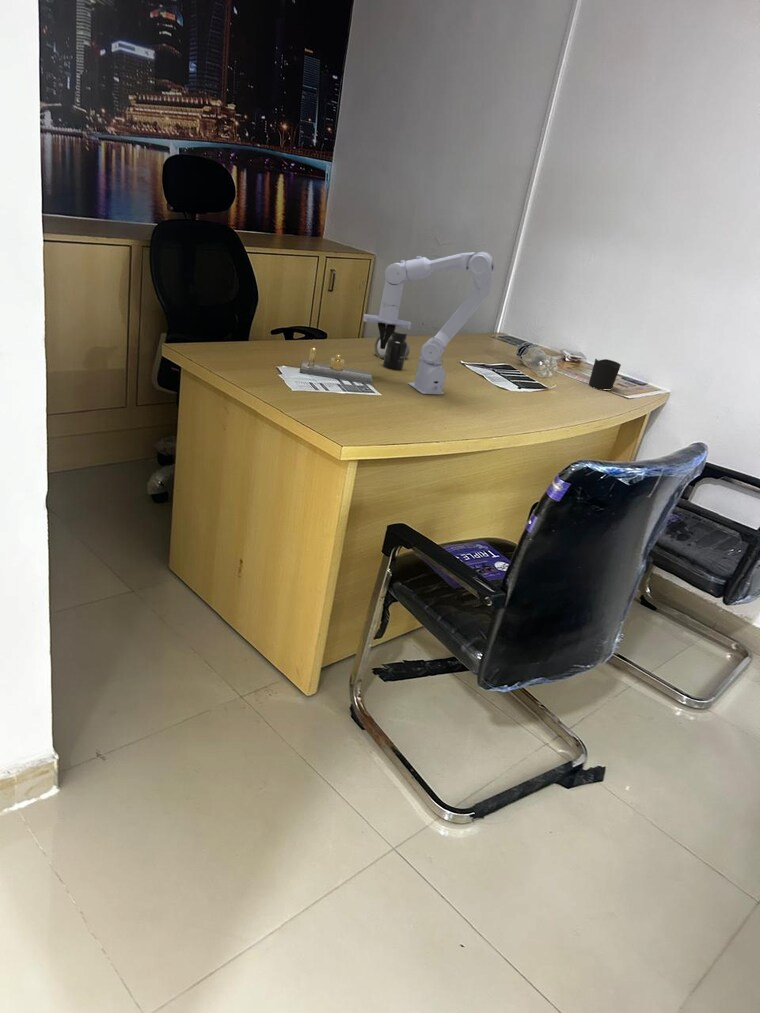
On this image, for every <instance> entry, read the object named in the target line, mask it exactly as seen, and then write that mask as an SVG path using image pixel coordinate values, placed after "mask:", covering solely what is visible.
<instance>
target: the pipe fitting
mask: <svg viewBox="0 0 760 1013" xmlns="http://www.w3.org/2000/svg"><path fill="white" fill-rule="evenodd" d="M396 330H397V329H396ZM397 331H399V329H398V330H397ZM384 337H385V336H384ZM390 338H392V336H391V337H390ZM390 338H389V339H390ZM405 341H406V342H407V338H406V339H405ZM386 347H387V344H386ZM386 347H385V349H381V348H380V335H379V336H378V337H377V338H376V341H375V343H374V353H375V355H376V357H378V358H379V359H384V357H385V352H386ZM410 352H411V346H410V344H409V342H407V350H406V355H405V359H406V358H407V357H408V356H409V355H410Z"/></svg>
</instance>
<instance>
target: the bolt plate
mask: <svg viewBox="0 0 760 1013" xmlns="http://www.w3.org/2000/svg"><path fill="white" fill-rule="evenodd" d="M316 355H317V348H316V347H311V348H310V349H309V359H308V360H301V366H300V371H299V373H300V372H302V373H301V374H305V373H308V374H307V375H311V374H312V375H313V376H316V377H317V376H319V377H324V378H328V379H330V378H331V379H336V380H342V381H348V382H354V383H361V384H366V385H373V375H372V373H373V372H372V371H368V370H362V369H357V368H356V369H355V368H349V367H343V370H335V369H331V368H330V364H325V363H320V362H316Z"/></svg>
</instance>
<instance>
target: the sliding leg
mask: <svg viewBox="0 0 760 1013" xmlns="http://www.w3.org/2000/svg"><path fill="white" fill-rule="evenodd" d="M341 357H342V355H341V354H337V353H336V354H335V357H331V358H330V364H329V365H330V368H331V369H335V370H343V367H344V366H345V359H342V358H341Z"/></svg>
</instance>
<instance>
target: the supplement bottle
mask: <svg viewBox="0 0 760 1013" xmlns="http://www.w3.org/2000/svg"><path fill="white" fill-rule="evenodd" d="M391 336H392V338H390V339H389V340H388V342H387V347H386V352H385V357H384V358H383V367H384V368H387V369H390V370H393V371H402V370H403V369H404V364H405V360H406V358H405V355H406V350H407V332H405V331H402V330H398V331H397V329H395V331H394V332H393V334H392V335H391ZM405 339H406V341H405Z"/></svg>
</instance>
